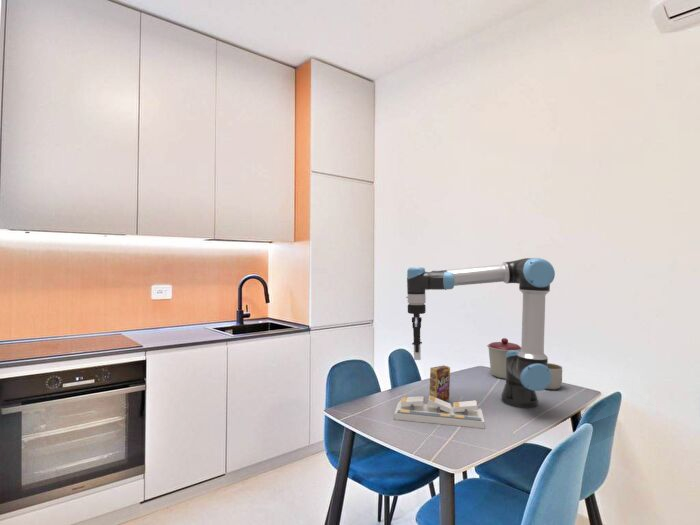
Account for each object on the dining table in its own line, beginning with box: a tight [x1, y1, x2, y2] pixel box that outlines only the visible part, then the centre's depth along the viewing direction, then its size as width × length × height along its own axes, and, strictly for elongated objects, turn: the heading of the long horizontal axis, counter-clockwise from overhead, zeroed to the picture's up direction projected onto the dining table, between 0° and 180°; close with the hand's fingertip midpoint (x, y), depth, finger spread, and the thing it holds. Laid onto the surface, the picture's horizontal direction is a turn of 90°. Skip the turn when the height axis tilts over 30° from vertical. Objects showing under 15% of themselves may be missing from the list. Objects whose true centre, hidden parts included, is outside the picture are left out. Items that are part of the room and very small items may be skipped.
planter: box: [544, 362, 563, 391], centre depth 207 cm, size 12×12×11 cm
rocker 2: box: [427, 395, 452, 413], centre depth 166 cm, size 9×7×2 cm
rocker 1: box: [400, 395, 425, 407], centre depth 169 cm, size 9×7×2 cm
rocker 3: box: [453, 400, 479, 412], centre depth 164 cm, size 9×7×2 cm
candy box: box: [428, 365, 451, 402], centre depth 185 cm, size 9×4×15 cm, turn 123°
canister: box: [486, 337, 521, 380], centre depth 226 cm, size 18×18×21 cm
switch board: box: [393, 401, 485, 429], centre depth 166 cm, size 34×14×4 cm, turn 77°
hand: (417, 359), depth 174 cm, fingers closed
